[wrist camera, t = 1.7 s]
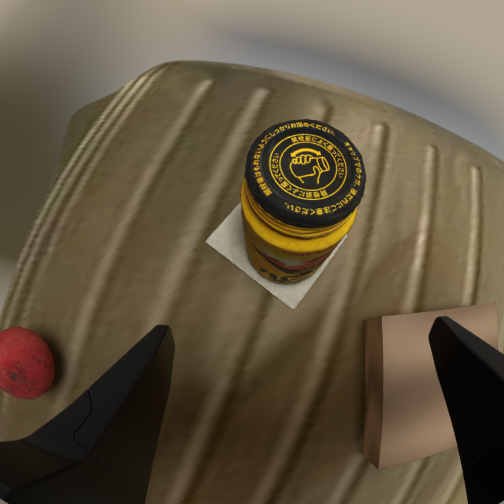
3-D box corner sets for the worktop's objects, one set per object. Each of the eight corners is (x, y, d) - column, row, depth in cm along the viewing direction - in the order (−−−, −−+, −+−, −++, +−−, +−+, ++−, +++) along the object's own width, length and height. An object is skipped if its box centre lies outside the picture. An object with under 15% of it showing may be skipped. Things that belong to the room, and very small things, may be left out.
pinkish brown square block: (467, 423, 19) (493, 431, 15) (361, 452, 19) (378, 469, 15) (468, 308, 22) (495, 301, 18) (362, 320, 22) (381, 316, 18)
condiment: (293, 309, 22) (331, 277, 11) (205, 242, 24) (162, 156, 12) (346, 236, 24) (410, 152, 12) (263, 177, 25) (265, 67, 14)
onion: (81, 357, 21) (18, 357, 13) (59, 407, 20) (-2, 421, 12) (39, 318, 22) (-22, 305, 14) (19, 367, 21) (-41, 366, 13)
